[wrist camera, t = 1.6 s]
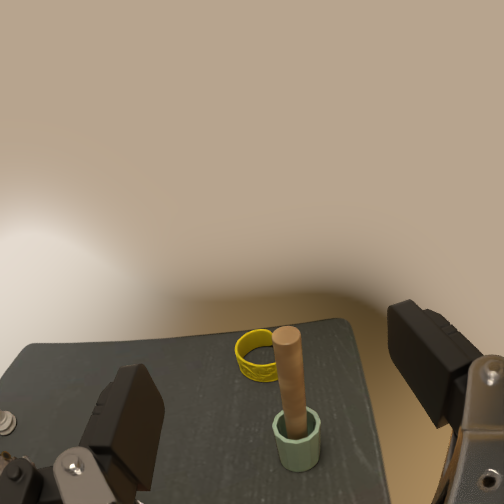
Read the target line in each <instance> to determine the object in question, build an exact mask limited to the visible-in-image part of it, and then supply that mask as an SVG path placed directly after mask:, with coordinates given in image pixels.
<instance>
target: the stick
mask: <svg viewBox="0 0 504 504" xmlns="http://www.w3.org/2000/svg"><path fill="white" fill-rule="evenodd" d="M272 342H273V349H274V355H275V361H276V367H277V374H278V380H279V386H280V392H281V399H282V405H283V411H284V418H285V424H286V431H287V437H288V439H291V440H300V439H303V438H306V437H308V429H307V412H306V397H305V383H304V369H303V356H302V344H301V334H300V331H299V330H298V329H297V328H295V327H292V326H283V327H280V328H278V329H276V330H275V331H274V332H273V334H272Z"/></svg>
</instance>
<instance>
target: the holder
mask: <svg viewBox="0 0 504 504" xmlns="http://www.w3.org/2000/svg"><path fill="white" fill-rule="evenodd" d="M306 412H307V429H308V437H306V438H303V439H300V440H291V439H288V437H287V431H286V424H285V418H284V411H283V410H282V411H281V412H280V413H279V414H277V415H276V416H275V419H274V422H273V425H272V428H273V432H274V437H275V441H276V446H277V450H278V455H279V458H280V462H281V464H282V465H283V466H284V467H285V468H286V469H288V470H290V471H294V472H303V471H307V470H309V469H311V468H312V467H314V466H315V465H316V464H317V462H318V460H319V457H320V450H321V421H320V419H319V417H318V414H317V413H316V412H315V411H313V410H312V409H310V408H308V407H306Z"/></svg>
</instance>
